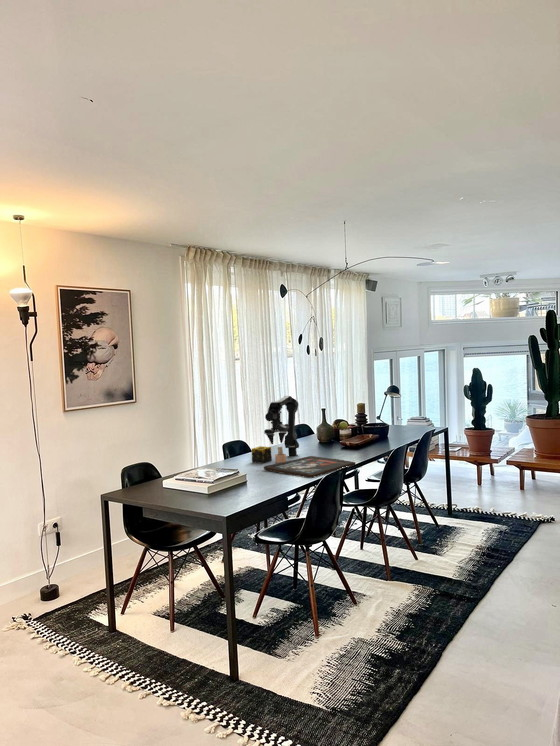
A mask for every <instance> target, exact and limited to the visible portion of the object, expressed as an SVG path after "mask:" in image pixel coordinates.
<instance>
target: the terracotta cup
mask: <svg viewBox="0 0 560 746" xmlns="http://www.w3.org/2000/svg"><path fill="white" fill-rule="evenodd" d="M274 455H275V456H274V457H275V458H274V459H275V464H277V463H282V462H286V461H287V454H286V453H283V455H278V453H275V454H274Z"/></svg>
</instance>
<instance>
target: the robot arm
mask: <svg viewBox="0 0 560 746" xmlns="http://www.w3.org/2000/svg"><path fill="white" fill-rule="evenodd" d="M283 406H285V407H286V408H285V409H286V411H287V413H288V416H287V417H288V419H287V423H285V424H283V421H281V414H282V409H283ZM298 409H299V402H298V401H297V399H295V398H293V397H292V395H284V396H283V397H282V398H280V399H278V400H274V401H271V402H270V403H269V406H268V409H267V413H266V414H265V416H264V418H265V420H266V421H267V422H270V424H271V428H268V429H266V428H265V429H264V433H263V434H265V435H266V436H267V438H268V440H269V442H270V444H271V445H274V436H275V435H276V434H275V433H278V438H279V442H280V444H284V446H285V449H288V451H287V453H288V455H289V456H288V457H290V458H291V457H293V458H295V457H298V455H299V454H297V449H299V448H300V443H299V442H298V440H297V439H298V438H297V436H296V434H295V430H296V429H295V427H296V413H297V412H298ZM283 441H284V443H283Z"/></svg>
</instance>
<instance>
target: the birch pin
mask: <svg viewBox="0 0 560 746" xmlns="http://www.w3.org/2000/svg"><path fill="white" fill-rule="evenodd" d="M277 454H278V455H283V454H284V453H283V446H278V447H277Z"/></svg>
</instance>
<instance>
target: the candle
mask: <svg viewBox="0 0 560 746" xmlns="http://www.w3.org/2000/svg"><path fill="white" fill-rule="evenodd" d="M271 461H273V457H272V447H271V446H261V445H259V446H257V447H253V448H251V462H252V463H255V464H265V463H268V462H271Z"/></svg>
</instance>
